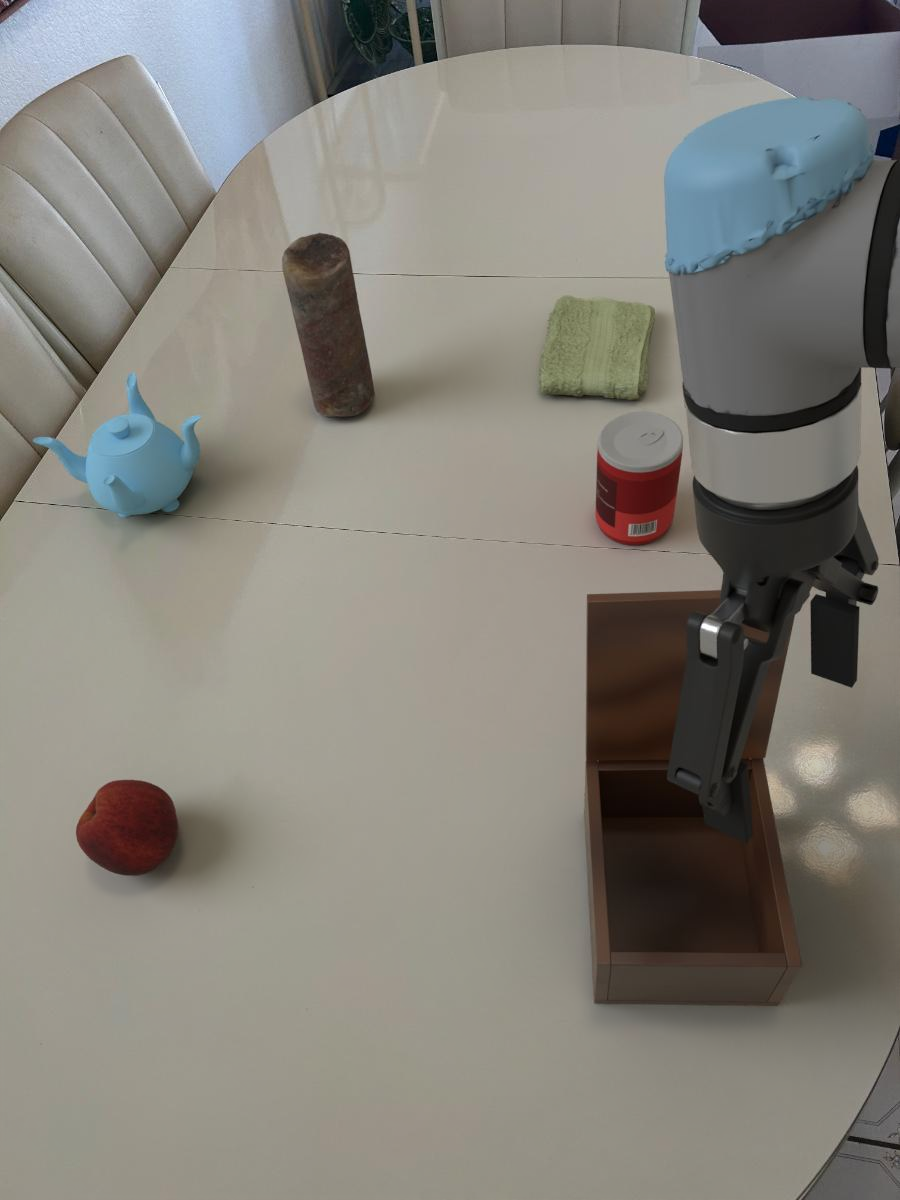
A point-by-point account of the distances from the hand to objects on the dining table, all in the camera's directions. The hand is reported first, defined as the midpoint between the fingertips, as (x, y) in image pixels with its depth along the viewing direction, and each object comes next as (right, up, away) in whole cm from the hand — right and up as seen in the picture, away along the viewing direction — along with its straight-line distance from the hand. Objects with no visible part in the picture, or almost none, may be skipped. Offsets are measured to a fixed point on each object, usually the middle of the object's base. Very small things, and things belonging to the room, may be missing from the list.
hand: (784, 749), depth 58 cm
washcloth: (-3, +38, +55) cm, 67 cm away
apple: (-46, -11, +21) cm, 52 cm away
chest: (-4, -14, +13) cm, 19 cm away
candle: (-33, +32, +54) cm, 71 cm away
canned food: (-2, +17, +38) cm, 42 cm away
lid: (-5, +3, +5) cm, 8 cm away
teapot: (-55, +21, +47) cm, 75 cm away
